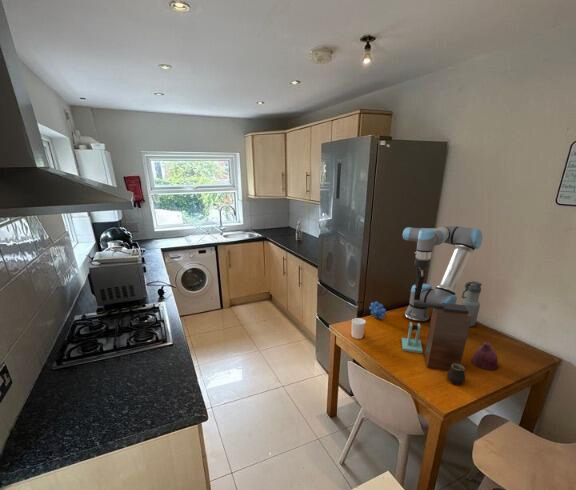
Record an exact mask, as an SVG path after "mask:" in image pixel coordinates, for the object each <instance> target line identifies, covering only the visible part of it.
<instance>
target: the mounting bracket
mask: <svg viewBox="0 0 576 490" xmlns="http://www.w3.org/2000/svg"><path fill="white" fill-rule="evenodd" d="M412 324H413V321H412V322H411V321H410V322H409V324H408V332H407V337H401V347H402V348H401V349H402V351H403V352H410V353H415V354H423V353H424V352H423V350H424V349H423V346H422V341H421V340H420V339H419V338H420V331H421V329H422V327H421V322H417V324H416V325H417V330H416V331H415V338H411V337H412V331H413V330H412Z"/></svg>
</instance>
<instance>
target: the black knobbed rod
mask: <svg viewBox="0 0 576 490" xmlns="http://www.w3.org/2000/svg"><path fill="white" fill-rule="evenodd" d="M417 325H418V324H414V323H412V331H415V330H416V331H417Z"/></svg>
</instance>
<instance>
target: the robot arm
mask: <svg viewBox="0 0 576 490" xmlns="http://www.w3.org/2000/svg"><path fill="white" fill-rule="evenodd" d="M402 239H403V240H404V241H408V242H414V243H416V249H415V250H416V251H414V255H415V258H414V263H413V264H414V266H415V267H417V268H416V277H415V284H413V285H412V286H411V289H410V296H409V303H408V306H407V308H406V310H405V311H404V317H405V319H407V320H409V321H412V322H417V323H426V322H429V320H430V313H429V308H426V307H417V306H414V305H413V304H414V301H415V302H424V303H438V304H442V303H448V304H457V299H458V296H456V290H455V289H456V286H457V285H458V282H459V280H460V277H461V275H462V273H463V270H464V268H465V267H466V264H467V261H468V259H469V258H470V257H469V256H470V255H471V254H473V253H474V252H475V250H478V249H480V247H481V246H482V243H483V232H482V230H481V229H479V228H475V227H466V226H458V225H450V226H439V227H433V228H432V227H430V228H429V227H427V228H426V227H411V226H409V227H405V228H404V229H403V231H402ZM441 244H447V245H452V247H453V250H454V251H453V253H452V255H451V257H450V259H449V262H448V265H447V267H446V269H445V271H444V273H443V276H442V278H441V280H440V283H439V284H438V285H436V286H435V288H433V287H432V285H431V284H429V283H424V281H425V276H426V268H429V267H430V266H431V259H432V254H433V253H432V252H433V247H434V246H439V245H441Z"/></svg>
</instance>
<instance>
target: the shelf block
mask: <svg viewBox="0 0 576 490" xmlns="http://www.w3.org/2000/svg"><path fill="white" fill-rule="evenodd" d="M434 304H438V303H434ZM471 318H472V316H471V315H470V313H469V312H468V314H463V313H454V312H445V311H444V310H443V309H435V308H432V313H431V318H430V324H429V330H428V335H427V340H426V344H425V345H426V346H425V351H424V359H425V363H426V368H427V369H433V370H439V371H445V372H448V371H449V370H450V369H451V365H452V364H460V365H462V360H463V356H464V351H465V347H466V343H467V339H468V335H469V330H470V327H471V326H470V322H471Z"/></svg>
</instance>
